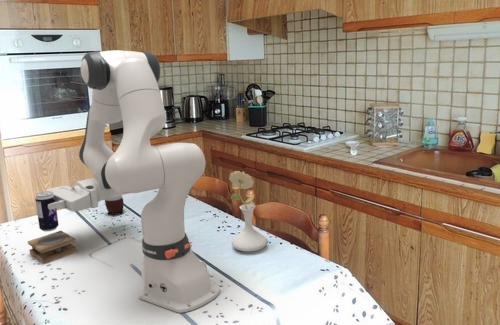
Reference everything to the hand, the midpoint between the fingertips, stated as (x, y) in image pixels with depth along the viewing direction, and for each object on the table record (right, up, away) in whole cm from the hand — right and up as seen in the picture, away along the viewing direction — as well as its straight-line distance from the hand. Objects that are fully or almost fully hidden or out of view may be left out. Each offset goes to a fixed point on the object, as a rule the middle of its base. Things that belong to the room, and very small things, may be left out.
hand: (43, 204), depth 143 cm
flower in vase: (+65, -14, +3) cm, 66 cm away
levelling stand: (+1, -16, +5) cm, 17 cm away
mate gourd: (+11, -7, +39) cm, 41 cm away
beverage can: (+1, -8, +3) cm, 9 cm away
